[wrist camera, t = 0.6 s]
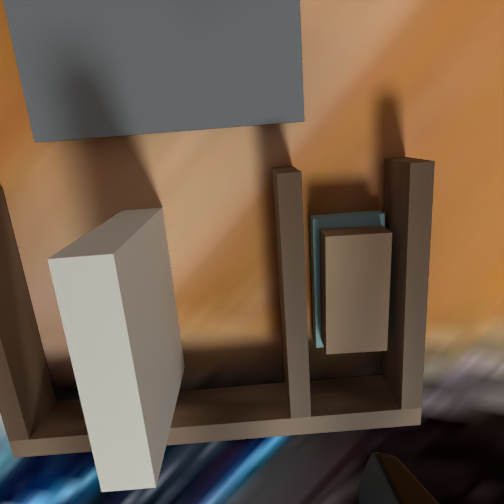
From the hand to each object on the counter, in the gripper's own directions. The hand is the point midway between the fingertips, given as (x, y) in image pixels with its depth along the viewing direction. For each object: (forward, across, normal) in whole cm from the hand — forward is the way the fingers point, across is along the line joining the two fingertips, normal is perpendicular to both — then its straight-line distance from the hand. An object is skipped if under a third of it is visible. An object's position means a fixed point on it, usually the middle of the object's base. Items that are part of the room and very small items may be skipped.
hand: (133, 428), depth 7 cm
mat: (+14, +4, -9) cm, 17 cm away
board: (+13, +2, +4) cm, 14 cm away
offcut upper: (+13, -7, +1) cm, 15 cm away
